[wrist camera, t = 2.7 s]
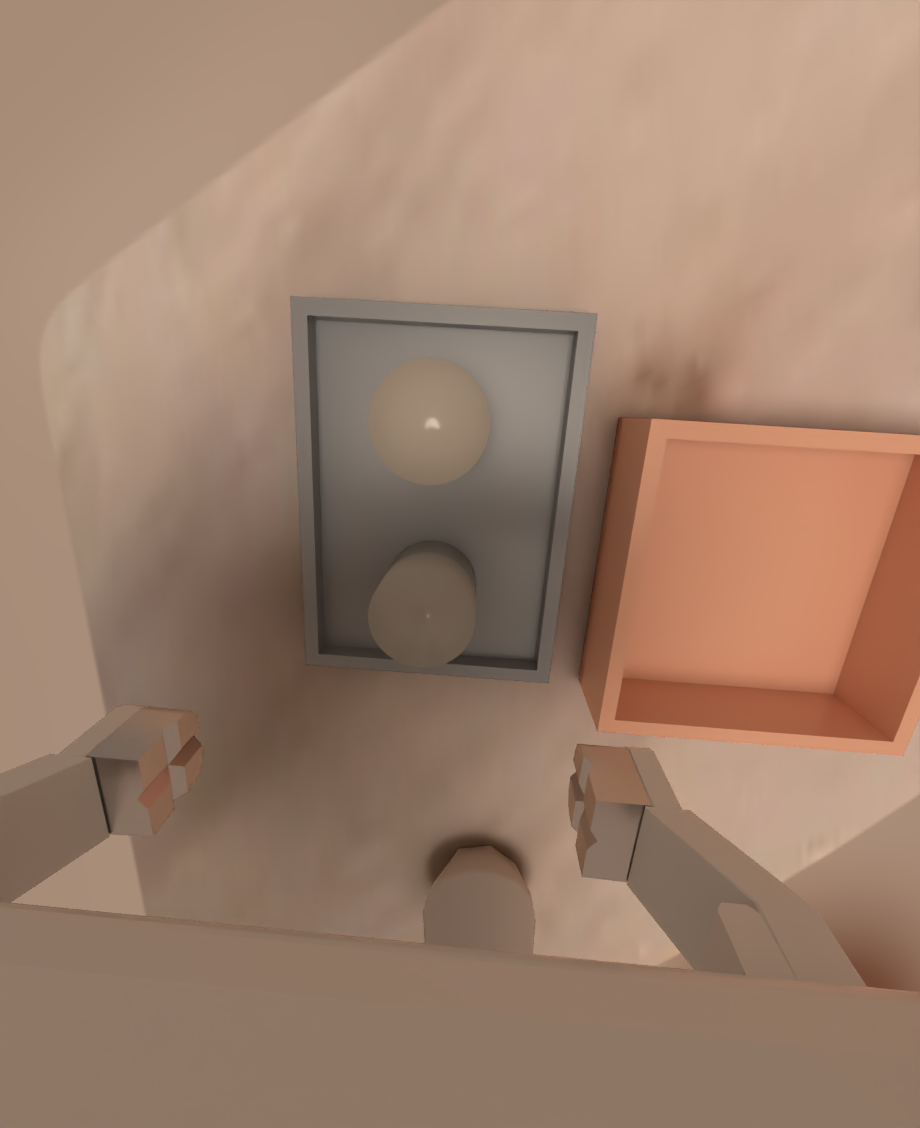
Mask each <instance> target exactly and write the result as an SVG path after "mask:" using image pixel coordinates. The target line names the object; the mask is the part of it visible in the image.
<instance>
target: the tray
mask: <svg viewBox="0 0 920 1128" xmlns="http://www.w3.org/2000/svg"><path fill="white" fill-rule="evenodd" d="M290 304H291V327H292V351H293V374H294V397H295V420H296V444H297V467H298V490H299V514H300V537H301V560H302V583H303V607H304V630H305V653H306V665H317V666H330V667H343V668H356V669H370V670H383V671H396V672H409V673H422V674H435V675H448V676H461V677H474V678H487V679H500V680H513V681H526V682H539V683H549V677H550V669H551V662H552V654H553V647H554V639H555V631H556V624H557V616H558V609H559V601H560V594H561V586H562V578H563V571H564V563H565V556H566V548H567V541H568V533H569V525H570V518H571V510H572V503H573V495H574V488H575V480H576V472H577V465H578V457H579V450H580V442H581V435H582V427H583V419H584V412H585V404H586V397H587V389H588V382H589V374H590V366H591V359H592V351H593V344H594V336H595V329H596V321H597V314H596V313H578V312H561V311H543V310H526V309H508V308H490V307H473V306H455V305H438V304H420V303H402V302H385V301H367V300H350V299H332V298H314V297H297V296H290ZM420 358H436V359H442V360H445V361H449V362H451V363H453V364H455V365H457V366H459V367H460V368H462V369H463V370H465V371H466V372H467V373H468V374H469V375H470V376H471V377H472V378H473V379H474V380H475V381H476V382H477V384H478V385H479V387H480V388H481V390H482V392H483V394H484V396H485V399H486V401H487V404H488V408H489V414H490V431H489V437H488V441H487V444H486V447H485V449H484V452H483V453H482V455H481V457H480V459H479V460H478V461H477V463H476V464H475V465H474V466H473V467H472V468H471V469H470V470H469V471H468V472H467V473H465V474H464V475H463V476H461V477H459V478H458V479H456V480H453V481H451V482H448V483H444V484H439V485H422V484H417V483H413V482H410V481H408V480H405V479H403V478H401V477H400V476H398V475H396V474H395V473H394V472H393V471H391V470H390V469H389V468H388V467H387V466H386V465H385V464H384V462H383V461H382V460H381V459H380V457H379V455H378V454H377V452H376V450H375V448H374V446H373V443H372V440H371V437H370V432H369V423H368V417H369V408H370V403H371V400H372V397H373V395H374V393H375V391H376V389H377V387H378V385H379V384H380V382H381V381H382V380H383V379H384V378H385V376H386V375H387V374H388V373H390V372H391V371H392V370H393V369H395V368H396V367H398V366H399V365H401V364H403V363H405V362H408V361H411V360H414V359H420ZM422 541H440V542H444V543H447V544H450V545H452V546H454V547H455V548H457V549H458V550H460V551H461V552H462V553H463V554H464V555H465V556H466V557H467V558H468V559H469V561H470V563H471V564H472V566H473V568H474V571H475V575H476V613H475V628H474V632H473V636H472V638H471V640H470V642H469V644H468V645H467V647H466V648H465V649H464V651H463V652H462V653H461V654H460V655H458V656H457V657H456V658H454V659H453V660H451V661H449V662H447V663H445V664H443V665H440V666H435V667H428V668H419V667H412V666H408V665H405V664H402V663H400V662H398V661H396V660H394V659H393V658H391V657H390V656H388V655H387V654H386V653H385V652H384V651H383V650H382V649H381V648H380V647H379V646H378V644H377V643H376V641H375V640H374V638H373V636H372V634H371V631H370V627H369V623H368V609H369V605H370V601H371V599H372V596H373V595H374V593H375V591H376V589H377V588H378V586H379V584H380V583H381V581H382V579H383V578H384V576H385V575H386V573H387V571H388V570H389V568H390V566H391V565H392V563H393V561H394V560H395V558H396V557H397V556H398V555H399V554H400V553H401V552H402V551H403V550H404V549H405V548H407V547H409V546H410V545H412V544H415V543H418V542H422Z"/></svg>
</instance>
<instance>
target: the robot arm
mask: <svg viewBox="0 0 920 1128" xmlns="http://www.w3.org/2000/svg"><path fill="white" fill-rule="evenodd" d="M199 728H200V727H199V722H198V717H197V714H195V713H194V712H192V711H186V710H176V709H167V708H158V707H149V706H148V707H145V706H136V705H122V706H117V707H116V708H115V709H114V710H112V711H111V712H110V713H109V714H107V715H106V716H105V717H104V718H102V719H101V720H100V721H99V722H98V723H96V724H95V725H94V726H93V727H91V728H90V729H89V730H88V731H86V732H85V733H84V734H83V735H81V736H80V737H79V738H78V739H76V740H75V741H74V742H73V743H72V744H70V745H69V746H68V747H67V748H65V749H64V750H63V751H62V752H60V753H59V754H58V755H55V754H49V755H47V756H44V757H41V758H39V759H36V760H34V761H32V762H29V763H26V764H24V765H21V766H19V767H16V768H14V769H11V770H9V771H6V772H4V773H1V774H0V1128H920V992H912V991H902V990H892V989H882V988H871V987H867V986H866V985H865V983H864V982H863V981H862V979H861V977H860V976H859V974H858V973H857V971H856V970H855V968H854V967H853V965H852V963H851V962H850V960H849V959H848V957H847V956H846V954H845V953H844V951H843V950H842V948H841V947H840V945H839V944H838V942H837V941H836V939H835V937H834V936H833V934H832V933H831V931H830V930H829V928H828V927H827V925H826V924H825V922H824V921H823V919H822V917H821V916H820V914H819V913H818V911H817V910H816V909H815V908H814V907H812V906H811V905H810V904H809V903H807V902H806V901H805V900H803V899H802V898H801V897H800V896H798V895H797V894H796V893H795V892H793V891H792V890H791V889H789V888H788V887H787V886H786V885H784V884H783V883H782V882H781V881H779V880H778V879H777V878H775V877H774V876H773V875H772V874H770V873H769V872H768V871H767V870H765V869H764V868H763V867H761V866H760V865H759V864H758V863H756V862H755V861H754V860H753V859H751V858H750V857H749V856H747V855H746V854H745V853H744V852H742V851H741V850H740V849H738V848H737V847H736V846H735V845H733V844H732V843H731V842H730V841H728V840H727V839H726V838H724V837H723V836H722V835H721V834H719V833H718V832H717V831H716V830H714V829H713V828H712V827H710V826H709V825H708V824H707V823H705V822H704V821H703V820H701V819H700V818H699V817H698V816H696V815H695V814H694V813H693V812H691V811H690V810H682V808H681V806H680V804H679V802H678V800H677V798H676V796H675V794H674V792H673V790H672V788H671V786H670V784H669V782H668V780H667V778H666V776H665V774H664V772H663V770H662V767H661V765H660V763H659V761H658V759H657V757H656V755H655V753H654V751H652V750H651V749H650V748H636V747H625V748H623V747H611V746H598V745H585V744H577V746H576V749H575V753H574V758H573V761H574V765H575V769H576V772H575V773H574V774H573V775H572V776H571V777H570V784H569V797H568V806H569V815H570V821H571V826H572V827H573V828H574V829H575V830H576V831H577V832H578V833H577V839H576V845H575V846H576V851H577V856H578V860H579V865H580V870H581V875H582V877H588V878H597V879H605V880H613V881H621V882H627V885H628V887H629V888H630V889H631V890H632V892H633V893H634V894H635V895H636V897H637V898H638V899H639V901H640V902H641V903H642V904H643V906H644V907H645V908H646V909H647V911H648V912H649V913H650V914H651V916H652V917H653V918H654V919H655V921H656V922H657V923H658V925H659V926H660V927H661V928H662V930H663V931H664V932H665V933H666V935H667V936H668V937H669V938H670V940H671V941H672V942H673V943H674V945H675V946H676V947H677V949H678V950H679V951H680V952H681V954H682V955H683V956H684V957H685V959H686V960H687V961H688V962H689V964H690V965H691V966H692V967H693V969H694V970H688V969H678V968H668V967H658V966H648V965H638V964H628V963H617V962H607V961H597V960H587V959H577V958H567V957H556V956H546V955H536V954H526V953H516V952H506V951H496V950H485V949H475V948H465V947H455V946H445V945H435V944H424V943H414V942H404V941H394V940H384V939H374V938H363V937H353V936H343V935H333V934H323V933H313V932H303V931H292V930H282V929H272V928H262V927H252V926H242V925H231V924H221V923H211V922H201V921H190V920H180V919H170V918H160V917H149V916H139V915H129V914H118V913H108V912H98V911H88V910H77V909H68V908H57V907H47V906H37V905H27V904H17V903H11V902H12V901H14V900H15V899H16V898H18V897H20V896H21V895H22V894H24V893H26V892H27V891H29V890H30V889H32V888H33V887H35V886H36V885H38V884H39V883H41V882H42V881H43V880H45V879H47V878H48V877H50V876H51V875H53V874H54V873H55V872H57V871H58V870H60V869H61V868H63V867H64V866H66V865H67V864H69V863H70V862H72V861H73V860H75V859H76V858H78V857H79V856H81V855H82V854H84V853H85V852H87V851H88V850H90V849H91V848H93V847H94V846H96V845H97V844H99V843H100V842H102V841H103V840H105V839H106V838H108V837H109V834H115V835H116V834H117V835H131V836H148V837H153V836H154V835H155V834H156V832H157V831H158V830H159V828H160V827H161V826H162V825H163V823H164V822H165V821H166V819H167V818H168V817H169V816H170V814H171V813H172V812H173V811H174V809H175V808H174V799H176V798H178V797H180V796H181V795H183V794H185V793H187V792H188V791H189V790H190V788H191V787H192V786H193V784H194V783H195V782H196V780H197V777H198V775H199V772H200V770H201V767H202V761H203V749H202V745H201V744H200V742H199V741H198V740H197V739H196V738H195V737H194V735H195V733H196V732H197V731H198V729H199Z"/></svg>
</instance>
